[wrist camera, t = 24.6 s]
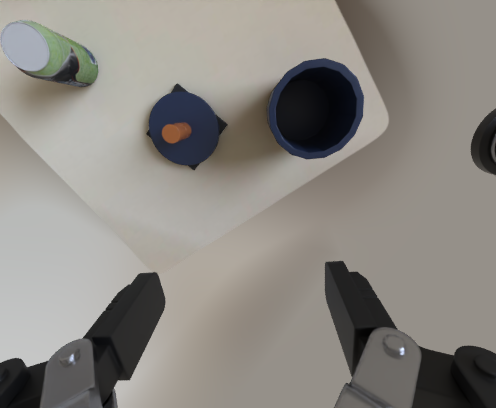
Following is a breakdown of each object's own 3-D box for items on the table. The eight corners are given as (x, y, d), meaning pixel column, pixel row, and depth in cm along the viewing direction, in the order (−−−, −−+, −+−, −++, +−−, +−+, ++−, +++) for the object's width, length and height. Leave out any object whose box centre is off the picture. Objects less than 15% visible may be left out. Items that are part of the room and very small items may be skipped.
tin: (347, 105, 38) (383, 104, 27) (301, 157, 42) (316, 175, 30) (297, 58, 36) (314, 35, 25) (253, 116, 40) (250, 120, 28)
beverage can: (55, 53, 38) (-30, 30, 27) (94, 34, 37) (22, 1, 26) (78, 94, 40) (7, 89, 29) (115, 78, 39) (57, 65, 28)
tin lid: (233, 124, 40) (228, 127, 33) (195, 176, 44) (183, 189, 37) (175, 75, 38) (156, 68, 31) (139, 135, 41) (116, 140, 35)
